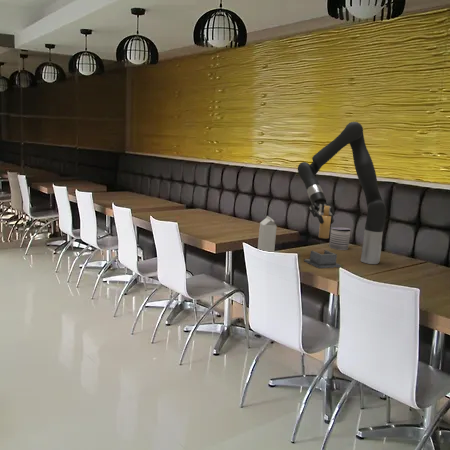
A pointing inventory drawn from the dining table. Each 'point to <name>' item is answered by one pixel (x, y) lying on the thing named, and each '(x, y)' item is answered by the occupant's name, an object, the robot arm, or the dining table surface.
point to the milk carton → (267, 235)
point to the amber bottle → (325, 224)
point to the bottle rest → (323, 259)
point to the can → (339, 238)
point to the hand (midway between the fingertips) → (327, 222)
